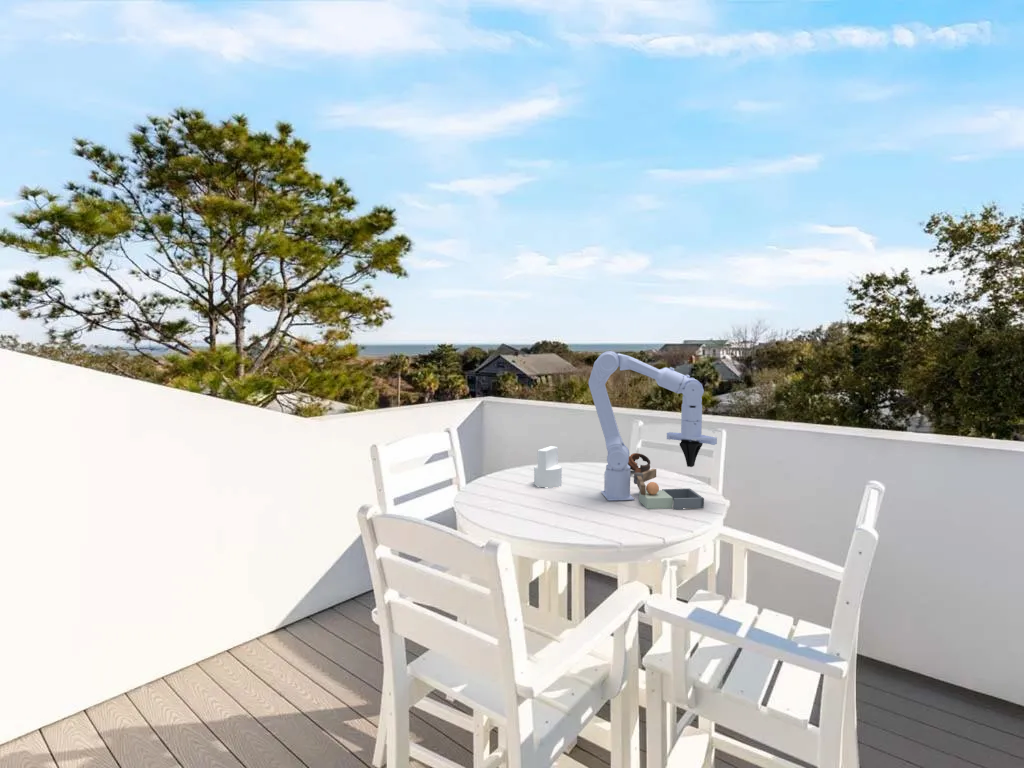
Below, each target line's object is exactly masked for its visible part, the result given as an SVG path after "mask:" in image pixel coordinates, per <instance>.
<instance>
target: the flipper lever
mask: <svg viewBox="0 0 1024 768" xmlns="http://www.w3.org/2000/svg"><path fill="white" fill-rule="evenodd" d="M655 478H657V468H650V470H648V471H645V472H642V473H635V472H633V484H634V485H637V489H638V491H640V493H641V495H646V491H647V490H646V486H647V484H646V483H645V482H648V481H650V480H652V479H655Z"/></svg>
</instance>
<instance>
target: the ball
mask: <svg viewBox="0 0 1024 768" xmlns="http://www.w3.org/2000/svg"><path fill="white" fill-rule="evenodd" d="M659 490H660V486H659V485H658V483H657V482H655V481H650V482H648V483H647V484H646V491H647V492H648V493H649V494H652V495H654V494H656V493H658V491H659Z"/></svg>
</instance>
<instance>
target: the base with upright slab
mask: <svg viewBox="0 0 1024 768" xmlns="http://www.w3.org/2000/svg"><path fill="white" fill-rule="evenodd" d="M562 468H563V467H562V465H560V464H559V446H554V445H549V446H547V447H543V448H540V449H538V450H537V464H536V465H534V466H533V476H534V477H533V485H534V484H535V485H536V486H539V487H538V488H540V487H548V488H547V489H554V488H553V487H557V488H560V487H562V484H563V479H562V478H563V477H562V476H563V474H562V472H563V471H562V470H563V469H562ZM535 485H534V486H535ZM536 486H535V487H536ZM559 486H560V487H559Z"/></svg>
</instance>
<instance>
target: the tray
mask: <svg viewBox="0 0 1024 768" xmlns="http://www.w3.org/2000/svg"><path fill="white" fill-rule="evenodd" d="M661 490H664V491H665V492H666V493H667V494H669V495H670V496H671V497H672V498H673V508H674V509H676V510H684V509H683V508H704V509H705V498H704V496H703V497H702V495H700V494H698V493H697V492H696V491H694V490H692V489H691V487H690V488H662V489H661ZM673 508H672V509H673ZM674 509H673V510H674Z"/></svg>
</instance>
